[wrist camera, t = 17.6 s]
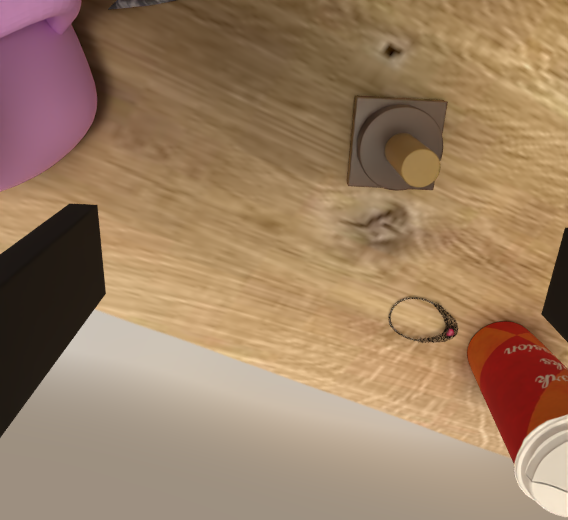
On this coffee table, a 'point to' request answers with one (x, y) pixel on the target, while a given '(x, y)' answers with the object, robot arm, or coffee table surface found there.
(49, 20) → the teapot
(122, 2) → the throwing knife
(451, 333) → the necklace
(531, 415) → the coffee cup
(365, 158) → the ring stand
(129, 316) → the coffee table surface
